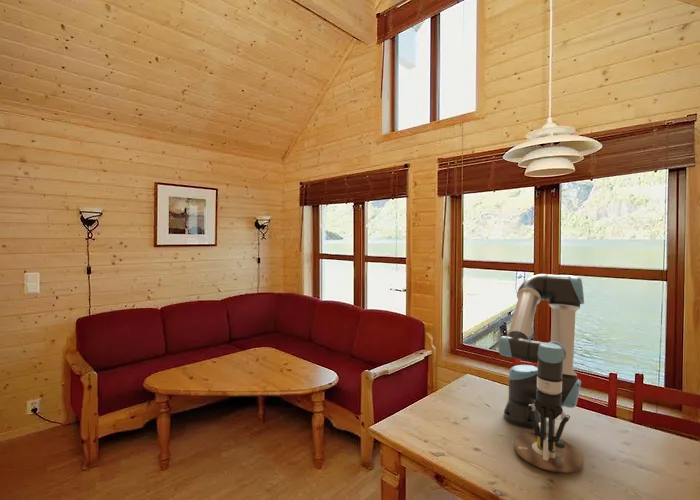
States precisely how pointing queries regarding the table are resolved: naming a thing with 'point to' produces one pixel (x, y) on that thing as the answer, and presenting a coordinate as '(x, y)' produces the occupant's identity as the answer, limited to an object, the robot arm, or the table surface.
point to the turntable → (560, 461)
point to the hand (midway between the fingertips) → (546, 458)
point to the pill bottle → (547, 437)
